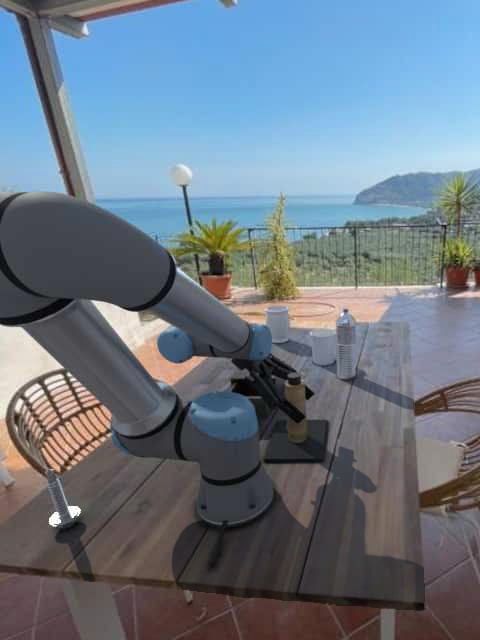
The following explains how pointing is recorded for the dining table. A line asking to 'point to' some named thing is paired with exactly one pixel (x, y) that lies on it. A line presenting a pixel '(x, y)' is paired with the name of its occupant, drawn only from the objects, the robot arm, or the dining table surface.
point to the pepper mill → (298, 399)
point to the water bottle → (346, 346)
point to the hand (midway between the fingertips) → (306, 407)
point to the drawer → (251, 398)
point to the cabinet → (241, 374)
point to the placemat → (302, 451)
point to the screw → (60, 504)
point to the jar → (278, 323)
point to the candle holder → (323, 346)
